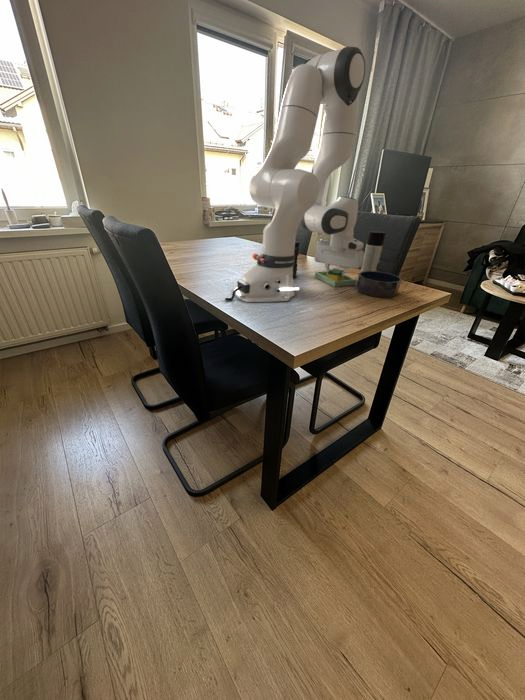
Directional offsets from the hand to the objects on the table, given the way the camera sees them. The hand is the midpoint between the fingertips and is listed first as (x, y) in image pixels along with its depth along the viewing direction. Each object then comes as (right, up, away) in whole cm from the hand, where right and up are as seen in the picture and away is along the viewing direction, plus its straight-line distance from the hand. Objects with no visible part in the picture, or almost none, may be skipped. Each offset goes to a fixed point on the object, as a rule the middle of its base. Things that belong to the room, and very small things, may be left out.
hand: (335, 275), depth 122 cm
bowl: (+14, -9, -10) cm, 19 cm away
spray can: (+15, -1, +5) cm, 16 cm away
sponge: (0, -1, +1) cm, 2 cm away
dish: (0, -2, +1) cm, 2 cm away
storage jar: (-21, +1, +4) cm, 22 cm away
